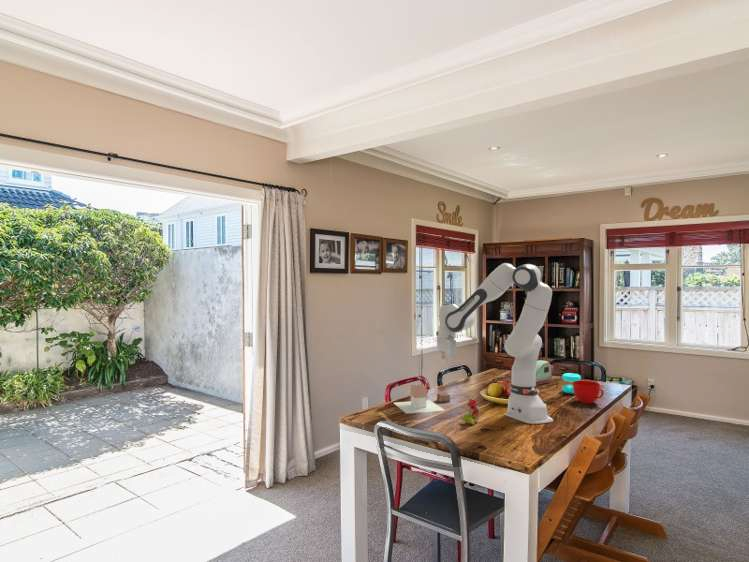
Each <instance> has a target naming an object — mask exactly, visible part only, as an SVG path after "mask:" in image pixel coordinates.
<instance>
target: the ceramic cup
mask: <svg viewBox="0 0 749 562" xmlns="http://www.w3.org/2000/svg"><path fill="white" fill-rule="evenodd" d="M572 385H573V390H574V396H575V398H576V399H577V400H578V401H579V403H581V404H587V405H588V404H590V405H591V404H592V405H593V403H594V402H595V401H596V400H597V399H601V398H602V397H603V396H604V390H603V389H602V388H601V384H600V383H599V382H596V381H592V380H580V381H574V382H572Z"/></svg>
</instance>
